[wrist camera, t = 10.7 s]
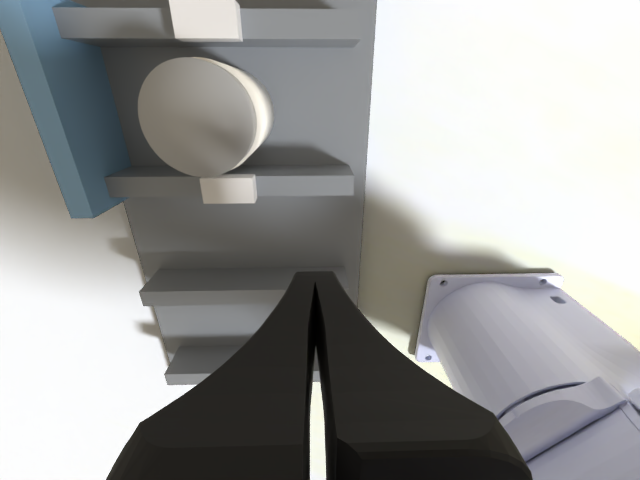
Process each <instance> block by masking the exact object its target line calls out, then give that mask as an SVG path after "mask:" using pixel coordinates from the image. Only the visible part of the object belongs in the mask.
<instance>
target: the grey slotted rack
mask: <svg viewBox="0 0 640 480" xmlns="http://www.w3.org/2000/svg"><path fill="white" fill-rule="evenodd" d="M376 8H377V0H0V29H1V32H2V35H3V37H4V40H5V43H6V45H7V48H8V51H9V53H10V56H11V59H12V61H13V64H14V67H15V69H16V72H17V75H18V77H19V80H20V83H21V85H22V88H23V91H24V93H25V96H26V99H27V101H28V104H29V107H30V109H31V112H32V115H33V117H34V120H35V123H36V126H37V128H38V131H39V134H40V136H41V139H42V142H43V144H44V147H45V150H46V152H47V155H48V158H49V160H50V163H51V166H52V168H53V171H54V174H55V176H56V179H57V182H58V184H59V187H60V190H61V192H62V195H63V198H64V200H65V203H66V206H67V208H68V211H69V214H70V216H71V218H95V217H96V216H98V215H100V214H102V213H103V212H105V211H107V210H109V209H110V208H112V207H114V206H116V205H117V204H119V203H121V202H124V206H125V209H126V213H127V216H128V220H129V223H130V226H131V230H132V233H133V237H134V240H135V244H136V247H137V251H138V254H139V258H140V261H141V264H142V268H143V271H144V275H145V278H146V282H147V283H146V284H145V286H144V287H143V288H142V289H141V290H140V291H139V293H140V297H141V300H142V303H143V306H154V309H155V313H156V316H157V320H158V323H159V327H160V330H161V334H162V337H163V340H164V344H165V347H166V351H167V354H168V358H169V361H170V365H169V367H168V369H167V370H166V372H165V374H164V375H165V378H166V381H167V385H193V384H199V383H200V382H202V381H203V380H204V379H205V378H207V377H208V376H209V375H210V374H212V373H213V372H214V371H216V370H217V369H218V368H219V367H220V366H222V365H223V364H224V363H225V362H226V361H227V360H228V359H229V358H231V357H232V356H233V355H234V354H235V353H236V352H237V351H238V350H239V349H240V348H241V347H242V346H243V345H244V344H245V343H246V342H247V341H248V340H249V339H250V338H251V337H252V336H253V335H254V333H255V332H256V331H257V330H258V329H259V328H260V327H261V325H262V324H263V323H264V322H265V320H266V319H267V318H268V316H269V315H270V314H271V312H272V311H273V310H274V309H275V307H276V306H277V304H278V303H279V301H280V300H281V298H282V297H283V295H284V293H285V292H286V290H287V288H288V287H289V285H290V283H291V281H292V279H293V276H294V274H295V273H296V272H304V271H333V272H334V273H335V274H336V276H337V278H338V280H339V282H340V283H341V285H342V287H343V288H344V290H345V291H346V293H347V294H348V296H349V297H350V299H351V300H352V301H353V303H354V304H355V305H356V307H357V304H358V288H359V273H360V257H361V242H362V226H363V210H364V195H365V179H366V164H367V148H368V133H369V117H370V101H371V86H372V70H373V55H374V39H375V24H376ZM182 57H203V58H208V59H212V60H215V61H217V62H220V63H223V64H226V65H229V66H232V67H235V68H238V69H241V70H243V71H246V72H248V73H250V74H252V75H253V76H255V77H256V78H257V79H258V80H259V81H260V82H261V83H262V84H263V85H264V86H265V88H266V89H267V91H268V93H269V95H270V97H271V100H272V103H273V108H274V122H273V127H272V129H271V132H270V134H269V136H268V137H267V139H266V140H265V141H264V142H263V143H262V144H261V145H260V146H259V147H258V148H257V149H256V150H255V151H254V152H253V153H252V154H251V155H250V156H249V157H248V158H247V159H246V160H245V161H244V162H243V163H242V164H241V165H239V166H238V167H236V168H234V169H232V170H229V171H227V172H226V173H223V174H221V175H217V176H213V177H197V176H191V175H188V174H185V173H182V172H180V171H178V170H176V169H174V168H173V167H171V166H170V165H168V164H167V163H165V162H164V161H163V160H162V159H161V158H160V157H159V156H158V155H157V154H156V153H155V152H154V150H153V149H152V148H151V146H150V145H149V143H148V142H147V140H146V138H145V136H144V134H143V131H142V129H141V125H140V122H139V116H138V98H139V93H140V90H141V87H142V84H143V82H144V81H145V79H146V77H147V76H148V75H149V73H150V72H151V71H152V70H153V69H154V68H155V67H157V66H158V65H160V64H161V63H163V62H165V61H168V60H171V59H175V58H182ZM313 382H320V375H319V367H318V359H317V351H316V348H315V359H314V371H313Z"/></svg>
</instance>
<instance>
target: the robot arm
mask: <svg viewBox="0 0 640 480" xmlns="http://www.w3.org/2000/svg"><path fill="white" fill-rule="evenodd" d="M444 280H445V282H444V283H442V284H440V283H441V281H444ZM540 280H542V281H540ZM563 281H564V278H563V277H562V276H561V275H560V274H558V273H528V274H460V275H433V276H431V277H430V278H429V279H428V283H427V288H426V294H425V300H424V305H423V311H422V316H421V322H420V328H419V333H418V339H417V344H416V350H415V358H416V360H417V361H418V362H441V364H442V366H443V368H444V371H445V373H446V375H447V377H448V379H449V381H450V383H451V385H452V387H453V389H454V390H453V389H451V388H450V387H448V386H446V385H445V384H443V383H442V382H441V381H439V380H438V379H436V378H435V377H433V376H432V375H430V374H429V373H427V372H426V371H424V370H423V369H422V368H420V367H419V366H418V365H416V364H415V363H414V362H412V361H411V360H410V359H409V358H407V357H406V356H405V355H403V354H402V353H401V352H400V351H398V350H397V349H396V348H395V347H394V346H393V345H392V344H391V343H389V342H388V341H387V340H386V339H385V338H384V337H383V336H382V335H381V334H380V333H379V332H378V331H377V330H376V329H375V328H374V327H373V326H372V324H371V323H370V322H369V321H368V320H367V319H366V318H365V316H364V315H363V314H362V313H361V312H360V310H359V309H358V308H357V307H356V305H355V304H354V303H353V301H352V300H351V299H350V297H349V296H348V294H347V293H346V291H345V290H344V288H343V287H342V285H341V283H340V282H339V280H338V278H337V276H336V274H335V273H334V272H333V271H304V272H296V273H295V274H294V276H293V279H292V281H291V283H290V285H289V287H288V288H287V290H286V292H285V293H284V295H283V297H282V298H281V300H280V301H279V303H278V304H277V306H276V307H275V309H274V310H273V311H272V312H271V314H270V315H269V316H268V318H267V319H266V320H265V322H264V323H263V324H262V325H261V327H260V328H259V329H258V330H257V331H256V332H255V333H254V335H253V336H252V337H251V338H250V339H249V340H248V341H247V342H246V343H245V344H244V345H243V346H242V347H241V348H240V349H239V350H238V351H237V352H236V353H235V354H234V355H233V356H232V357H231V358H229V359H228V360H227V361H226V362H225V363H224V364H223V365H222V366H220V367H219V368H218V369H217V370H216V371H214V372H213V373H212V374H210V375H209V376H208V377H207V378H205V379H204V380H203V381H202V382H200V383H199V384H198V385H196V386H195V387H194V388H192V389H191V390H190V391H188V392H187V393H185V394H184V395H182V396H181V397H179V398H178V399H176V400H175V401H173V402H172V403H170V404H169V405H167V406H166V407H164V408H163V409H161V410H159V411H158V412H156V413H155V414H153V415H152V416H150V417H149V418H147V419H145V420H144V421H142V422H140V423H139V425H138V427H137V428H136V430H135V432H134V433H133V435H132V436H131V438H130V439H129V441H128V442H127V443H126V445H125V446H124V448H123V450H122V452H121V453H120V455H119V457H118V458H117V460H116V462H115V464H114V466H113V467H112V469H111V471H110V473H109V475H108V477H107V479H106V480H310V405H311V394H312V382H313V371H314V359H315V348H316V351H317V359H318V367H319V375H320V383H321V392H322V400H323V409H324V422H325V451H326V480H640V352H639V351H638V350H637V349H636V348H635V347H634V346H633V345H632V344H631V343H629V342H628V341H627V340H626V339H624V338H623V337H622V336H620V335H619V334H618V333H617V332H615V331H614V330H613V329H612V328H610V327H609V326H608V325H606V324H605V323H604V322H603V321H601V320H600V319H599V318H597V317H596V316H595V315H594V314H592V313H591V312H590V311H588V310H587V309H586V308H585V307H583V306H582V305H581V304H579V303H578V302H577V301H576V300H574V299H573V298H572V297H571V296H569V295H568V294H567V293H565V292H564V291H563V290H562V289H561V286H562V284H563ZM428 355H429V356H428Z"/></svg>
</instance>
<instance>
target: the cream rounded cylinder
mask: <svg viewBox="0 0 640 480" xmlns="http://www.w3.org/2000/svg"><path fill="white" fill-rule="evenodd" d="M138 116H139V122H140V125H141V129H142V131H143V134H144V136H145V138H146V140H147V142H148V143H149V145H150V146H151V148H152V149H153V150H154V152H155V153H156V154H157V155H158V156H159V157H160V158H161V159H162V160H163V161H164V162H165V163H167V164H168V165H170V166H171V167H173V168H174V169H176V170H178V171H180V172H182V173H185V174H188V175H191V176H197V177H213V176H217V175H221V174H223V173H226V172H227V171H229V170H232V169H234V168H236V167H238V166H239V165H241V164H242V163H243V162H244V161H245V160H246V159H247V158H248V157H249V156H250V155H251V154H252V153H253V152H254V151H255V150H256V149H257V148H258V147H259V146H260V145H261V144H262V143H263V142H264V141H265V140H266V139H267V137H268V136H269V134H270V132H271V129H272V127H273V122H274V108H273V103H272V100H271V97H270V95H269V93H268V91H267V89H266V88H265V86H264V85H263V84H262V83H261V82H260V81H259V80H258V79H257V78H256V77H255V76H253V75H252V74H250V73H248V72H246V71H243V70H241V69H238V68H235V67H232V66H229V65H226V64H223V63H220V62H217V61H215V60H212V59H208V58H203V57H182V58H175V59H171V60H168V61H165V62H163V63H161V64H160V65H158V66H157V67H155V68H154V69H153V70H152V71H151V72H150V73H149V75H148V76H147V77H146V79H145V81H144V82H143V84H142V87H141V90H140V93H139V98H138Z"/></svg>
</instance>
